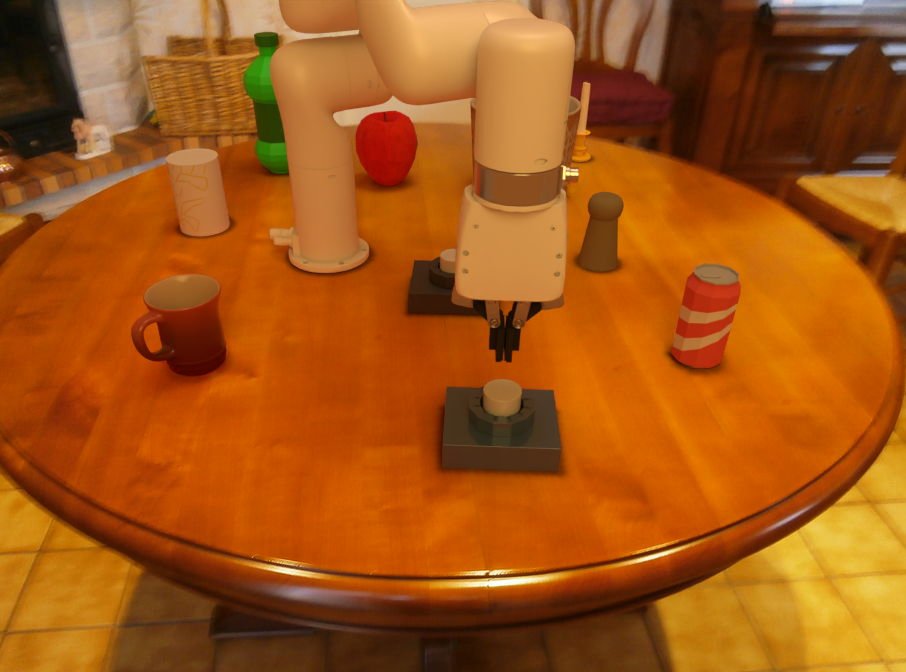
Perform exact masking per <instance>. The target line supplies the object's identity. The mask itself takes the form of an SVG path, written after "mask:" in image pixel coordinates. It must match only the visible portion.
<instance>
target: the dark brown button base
mask: <svg viewBox="0 0 906 672" xmlns="http://www.w3.org/2000/svg"><path fill="white" fill-rule="evenodd" d="M454 284H455V273H447V272H444V271H441V270H440V256H436V257H435V258H434V259H432V260H427V259H426V260H425V259H422V260H421V259H414V260H413V266H412V271H411V278H410V284H409V290H408V313H409V314H421V315H422V314H424V315H425V314H426V315H428V314H429V315H430V314H431V315H456V316H457V315H460V316H462V315H463V316H464V315H465V316H481V315H480V314H479V313H478V312H477V311H476V310H475V309H474V308H471V307H470V308H468V307H464V306H460V305H456V304H454V303H452V301H451V298H452V290H453V287H454Z"/></svg>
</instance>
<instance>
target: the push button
mask: <svg viewBox="0 0 906 672" xmlns="http://www.w3.org/2000/svg"><path fill="white" fill-rule="evenodd" d="M455 254H456V248H448V249H444V250H442V251H441V252H440V253H439V257H440V270H441V271H444V272H447V273H455Z"/></svg>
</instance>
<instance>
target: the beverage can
mask: <svg viewBox="0 0 906 672" xmlns="http://www.w3.org/2000/svg"><path fill="white" fill-rule="evenodd" d="M693 269H694V270H693V271H692V272H691V273H690V275H689V276H688V277H687V278H686V283H685V288H684V292H683V296H682V300H681V304H680V310H679V313H678V318H677V323H676V326H675V332H674V334H673V335H674V336H673V340H672V344H671V349H670V350H671V351H670V354H671V356H673V357H674V358H675V359H676V360H677V361H678V362H679V363H681V364H682V365H684V366H687V367H689V368H692V369H708V368H713V367H715V366H717V365H719V364H722V361H723V357H724V355H725V350H726V347H727V343H728V340H729V336H730V332H731V330H732V329H731V328H732V326H733V322H734V318H735V314H736V311H737V308H738V304H739V300H740V296H741V292H742V291H741V290H742V289H741V288H742V286H741V283H740V282H741V281H740V273H739V272H738V271H737V270H735V269H734V268H732V267H731V266H728V265H723V264H720V263H701V264H699V265H696V266H694V268H693Z"/></svg>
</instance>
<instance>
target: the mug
mask: <svg viewBox="0 0 906 672" xmlns="http://www.w3.org/2000/svg"><path fill="white" fill-rule="evenodd" d="M221 293H222V285H221V283H220V281H218V280H217V279H216V278H214V277H212V276H210V275H206V274H200V273H183V274H178V275H173V276H168V277H165V278H162V279H160V280H158V281H156V282H154V283H153V284H151V285H150V286H148V287H147V288H146V289H145V291H144V293H143V294H142V295H143V297H142V299H143V303H144V305H145V307H146V308H147V310H148V311H147V312H146V313H144V314H143V315H141V316H140V317H139V318H137V319H135V321H134V322H133V324H132V326H131V330H130V335H131V340H132V343H133V345H134V348H135V350H136V351H137V352H138V353H139V355H141V357H143V358H144V359H145V360H148V361H151V362H157V363H158V362H165V363H166V364H167V366H168V368H169V369H170V370H171V371H172V372H173V373H175V374H176V375H178V376H179V375H180V376H183V377H187V378H188V377H189V378H190V377H191V378H193V377H194V378H195V377H202V376H207V375H209V374H211V373H213V372H215V371H217V370H218V369H219V368H220V367H221V366H222V365H224V363H225V362H226V360H227V352H228V348H227V339H226V336H225V331H224V326H223V322H222V319H221V314H220V313H221V312H220V299H221ZM155 323H156V326H157V329H158V336H159V339H160V344H161V348H159V349H158V350H157V351H154V352H152V351H150V349H149V347H148V346H147V343H146V340H145V337H144V336H145V335H144V334H145V330H146V328H147V327H148V326H150V325H151V324H155Z"/></svg>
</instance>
